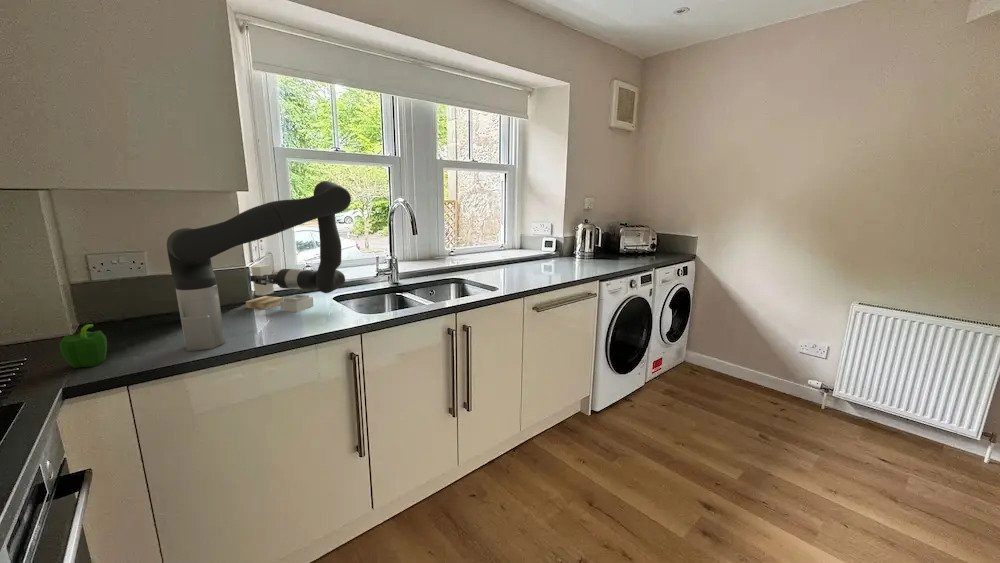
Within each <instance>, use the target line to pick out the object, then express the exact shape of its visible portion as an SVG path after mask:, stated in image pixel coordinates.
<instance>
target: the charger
mask: <svg viewBox="0 0 1000 563" xmlns="http://www.w3.org/2000/svg"><path fill="white" fill-rule="evenodd" d="M251 273H252V275H251V276H263V275H265V274H272V273H273V272H272V265H271V264H260V265H259V264H258V265H253V266H251ZM267 279H268V276H267ZM253 287H254V295H255V296H268V295H270V294H273V293H274V292H275V291H274V284H267V285H260V284H255V282H253Z"/></svg>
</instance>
